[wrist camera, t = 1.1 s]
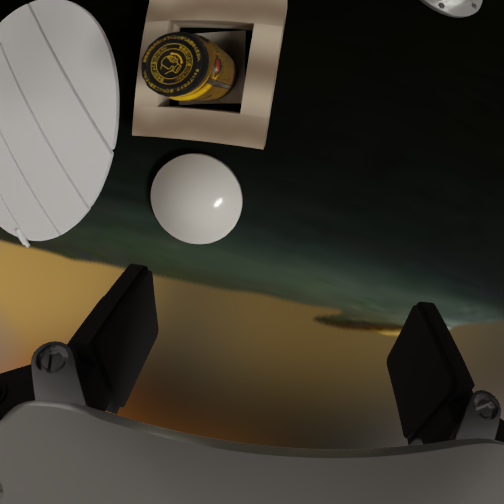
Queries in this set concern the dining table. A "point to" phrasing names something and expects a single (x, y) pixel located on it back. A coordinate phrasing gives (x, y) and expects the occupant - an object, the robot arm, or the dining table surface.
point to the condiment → (197, 67)
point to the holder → (256, 82)
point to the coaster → (196, 198)
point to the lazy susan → (54, 117)
